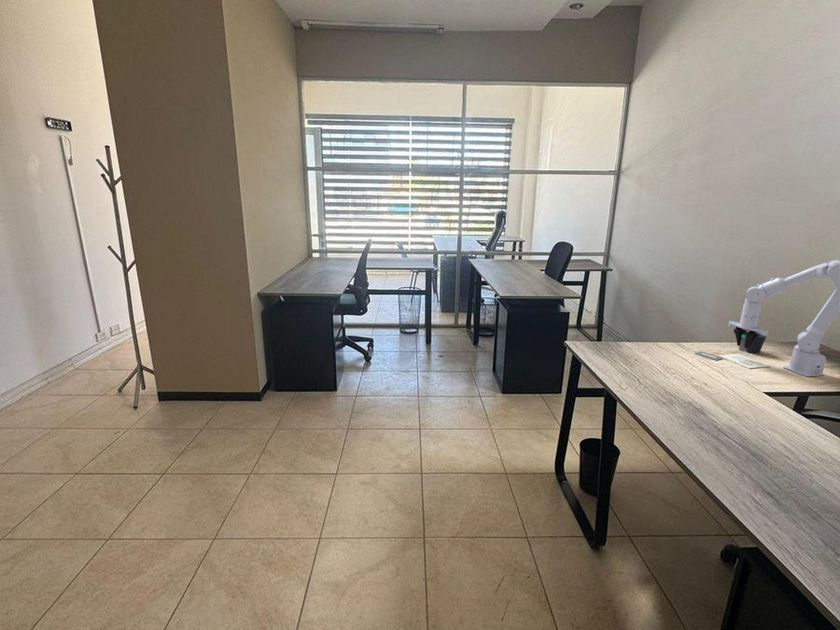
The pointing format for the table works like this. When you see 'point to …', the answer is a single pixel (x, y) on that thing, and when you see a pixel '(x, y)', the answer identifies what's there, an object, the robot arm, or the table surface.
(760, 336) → the speaker
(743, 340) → the marker
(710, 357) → the plate
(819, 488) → the table surface
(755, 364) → the paper
